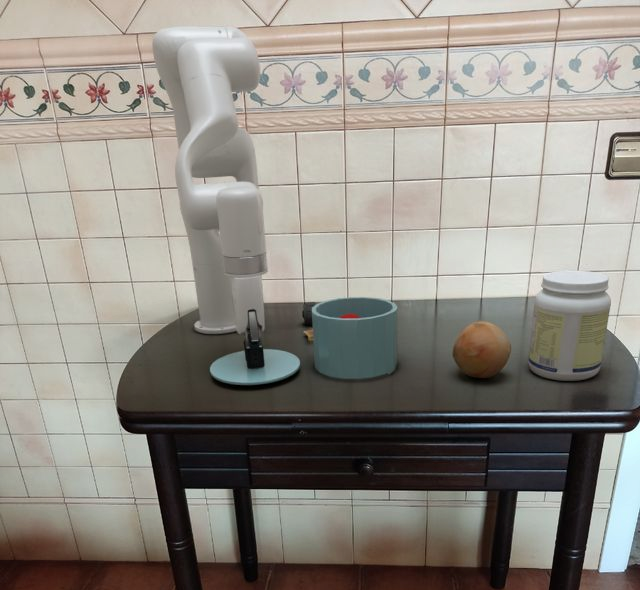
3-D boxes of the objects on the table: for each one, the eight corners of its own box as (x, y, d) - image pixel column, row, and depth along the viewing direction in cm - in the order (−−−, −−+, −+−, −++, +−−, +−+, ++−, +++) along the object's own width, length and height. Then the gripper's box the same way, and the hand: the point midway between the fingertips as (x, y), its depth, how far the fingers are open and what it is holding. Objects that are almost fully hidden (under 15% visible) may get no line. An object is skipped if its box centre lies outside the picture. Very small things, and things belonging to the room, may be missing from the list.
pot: (307, 357, 120) (304, 301, 115) (383, 349, 123) (383, 293, 118) (323, 385, 106) (320, 323, 101) (407, 375, 109) (409, 314, 104)
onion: (515, 385, 102) (521, 329, 98) (456, 387, 103) (460, 331, 99) (501, 365, 111) (505, 313, 107) (447, 367, 112) (449, 315, 107)
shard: (354, 345, 126) (354, 337, 125) (323, 352, 123) (322, 344, 122) (329, 332, 134) (329, 325, 134) (299, 339, 131) (299, 331, 130)
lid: (209, 359, 118) (204, 327, 115) (292, 350, 120) (290, 318, 117) (212, 393, 103) (207, 357, 100) (307, 382, 106) (305, 346, 103)
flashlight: (303, 328, 139) (301, 305, 136) (302, 321, 143) (301, 299, 141) (368, 324, 139) (368, 301, 136) (366, 317, 144) (365, 295, 141)
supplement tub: (594, 360, 111) (609, 269, 104) (604, 385, 101) (622, 285, 93) (525, 357, 114) (535, 268, 107) (528, 381, 104) (539, 284, 96)
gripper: (221, 256, 109) (232, 351, 118) (226, 276, 95) (238, 382, 103) (261, 253, 110) (269, 347, 119) (272, 272, 96) (280, 378, 105)
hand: (255, 363), depth 111 cm, fingers closed on lid, 2 cm apart
